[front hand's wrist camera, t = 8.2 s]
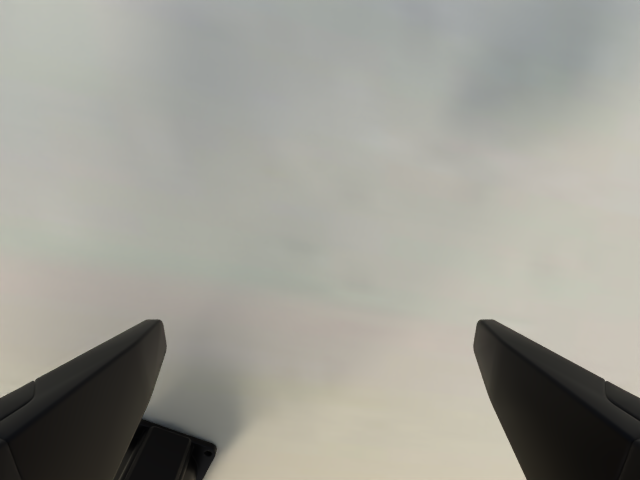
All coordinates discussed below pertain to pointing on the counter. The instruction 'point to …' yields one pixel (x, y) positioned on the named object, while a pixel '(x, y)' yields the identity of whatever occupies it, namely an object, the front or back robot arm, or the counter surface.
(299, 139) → the counter surface
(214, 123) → the counter surface
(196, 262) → the counter surface
